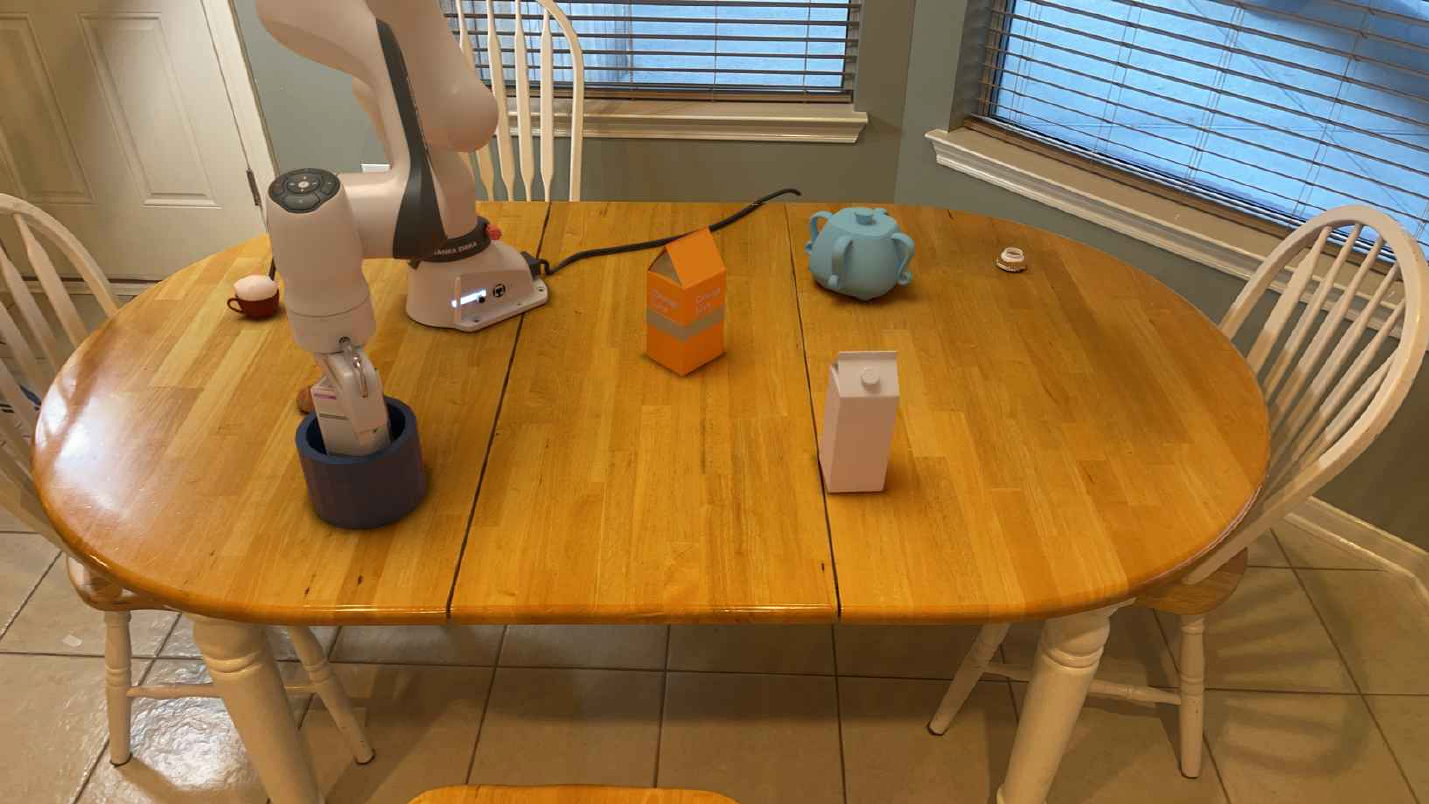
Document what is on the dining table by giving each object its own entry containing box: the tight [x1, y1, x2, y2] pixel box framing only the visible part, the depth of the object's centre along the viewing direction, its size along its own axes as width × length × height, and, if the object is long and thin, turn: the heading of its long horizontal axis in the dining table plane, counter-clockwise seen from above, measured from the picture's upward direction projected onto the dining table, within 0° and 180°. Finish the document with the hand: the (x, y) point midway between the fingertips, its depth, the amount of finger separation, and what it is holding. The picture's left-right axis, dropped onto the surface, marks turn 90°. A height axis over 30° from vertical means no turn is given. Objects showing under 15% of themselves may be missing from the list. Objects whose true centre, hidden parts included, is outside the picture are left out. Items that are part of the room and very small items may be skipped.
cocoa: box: [226, 256, 280, 319], centre depth 156 cm, size 10×6×12 cm, turn 104°
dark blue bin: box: [294, 395, 427, 530], centre depth 123 cm, size 14×14×10 cm
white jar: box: [996, 247, 1026, 272], centre depth 180 cm, size 5×3×5 cm
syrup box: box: [310, 367, 394, 458], centre depth 120 cm, size 6×6×14 cm
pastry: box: [295, 381, 318, 414], centre depth 140 cm, size 9×7×4 cm
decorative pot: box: [804, 206, 916, 301], centre depth 170 cm, size 16×16×14 cm
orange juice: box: [645, 225, 727, 377], centre depth 148 cm, size 8×9×20 cm
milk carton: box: [818, 350, 900, 493], centre depth 126 cm, size 7×7×19 cm
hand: (354, 420), depth 120 cm, fingers closed on syrup box, 7 cm apart
